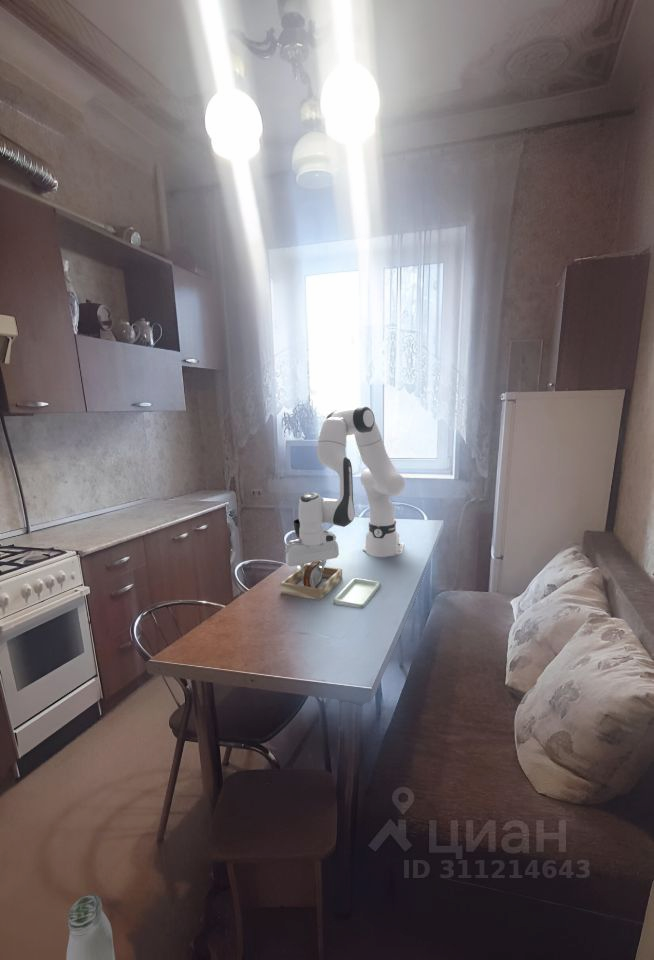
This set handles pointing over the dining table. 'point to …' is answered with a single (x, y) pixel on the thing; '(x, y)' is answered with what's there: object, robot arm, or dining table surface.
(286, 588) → the birch crate
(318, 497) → the robot arm
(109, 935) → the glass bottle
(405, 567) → the dining table surface
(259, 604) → the dining table surface
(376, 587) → the sage tray
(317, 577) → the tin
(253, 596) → the dining table surface
